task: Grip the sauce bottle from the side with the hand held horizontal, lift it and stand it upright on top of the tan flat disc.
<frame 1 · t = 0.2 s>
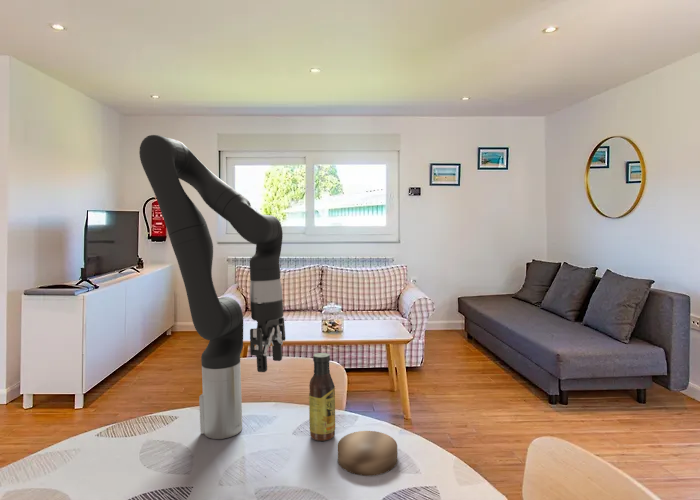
hand: (270, 365, 103), 18 cm above the table, tool pointing down, fingers open, 8 cm apart
sauce bottle: (322, 436, 104), on the table
tan flat disc: (367, 458, 94), on the table
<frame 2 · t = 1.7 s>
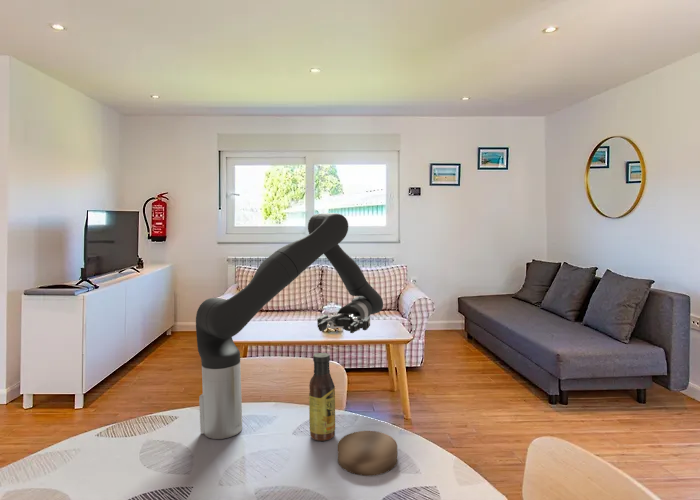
hand: (335, 328, 114), 24 cm above the table, tool horizontal, fingers open, 8 cm apart
nothing on the table moved.
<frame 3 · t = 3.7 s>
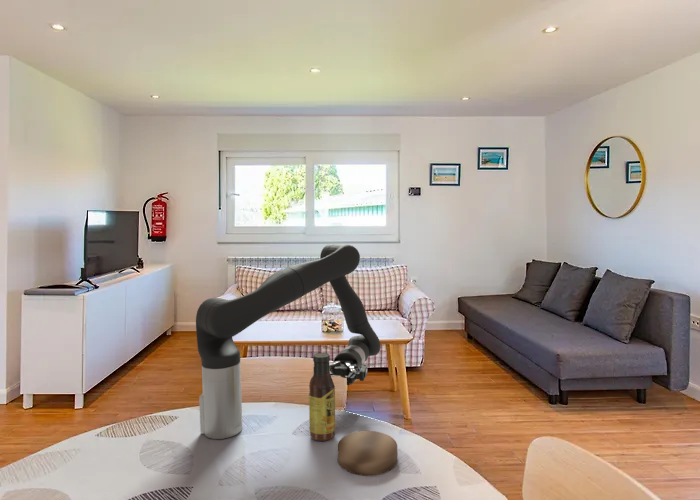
hand: (332, 380, 111), 11 cm above the table, tool horizontal, fingers open, 8 cm apart
nothing on the table moved.
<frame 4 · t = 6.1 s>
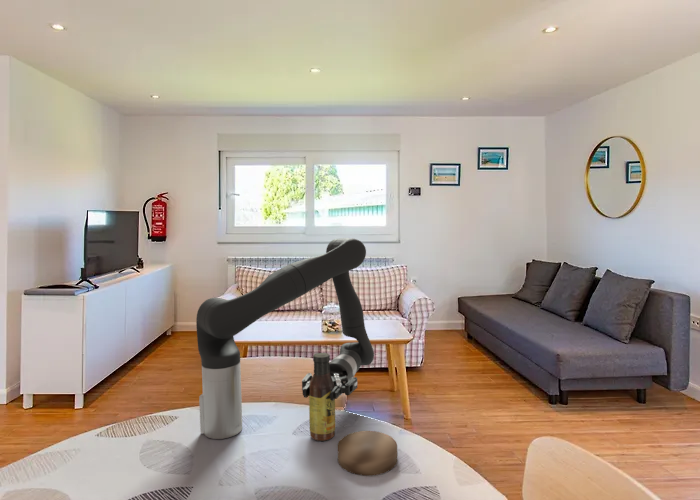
hand: (318, 395, 101), 11 cm above the table, tool horizontal, fingers closed on sauce bottle, 6 cm apart
sauce bottle: (322, 436, 104), on the table, touching gripper
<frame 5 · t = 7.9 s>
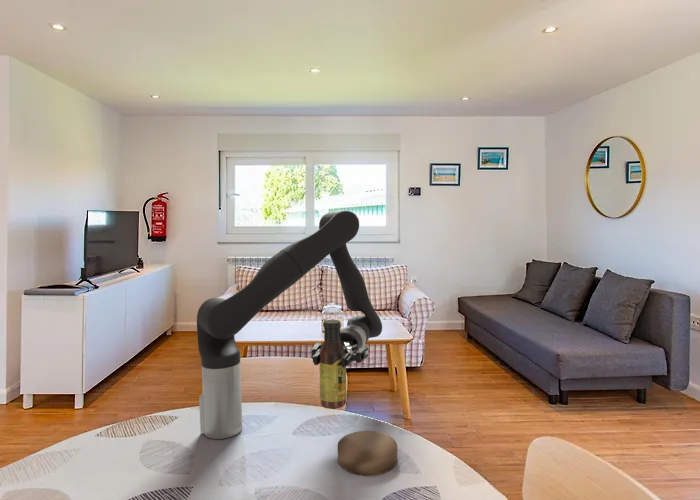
hand: (329, 362, 99), 20 cm above the table, tool horizontal, fingers closed on sauce bottle, 6 cm apart
sauce bottle: (333, 405, 102), point 8 cm above the table, touching gripper
when the fingers open (15 cm above the table, at t = 10.1 s): sauce bottle drops 1 cm, resting on tan flat disc.
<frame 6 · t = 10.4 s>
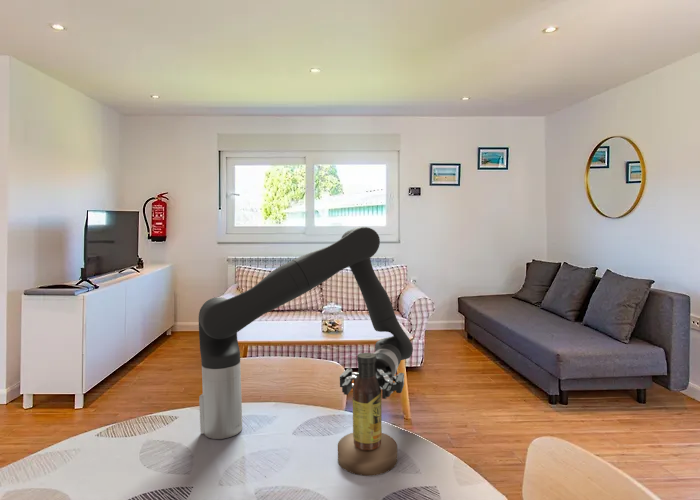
hand: (364, 392, 91), 15 cm above the table, tool horizontal, fingers open, 8 cm apart
sauce bottle: (367, 445, 94), point 3 cm above the table, touching tan flat disc
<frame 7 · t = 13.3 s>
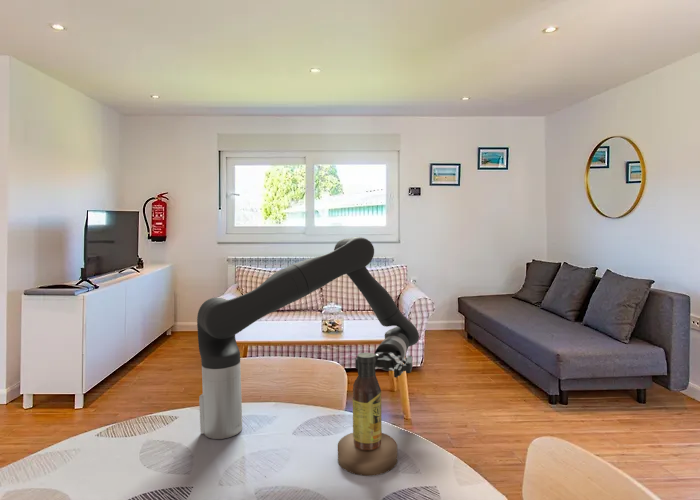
hand: (378, 372, 103), 16 cm above the table, tool horizontal, fingers open, 8 cm apart
nothing on the table moved.
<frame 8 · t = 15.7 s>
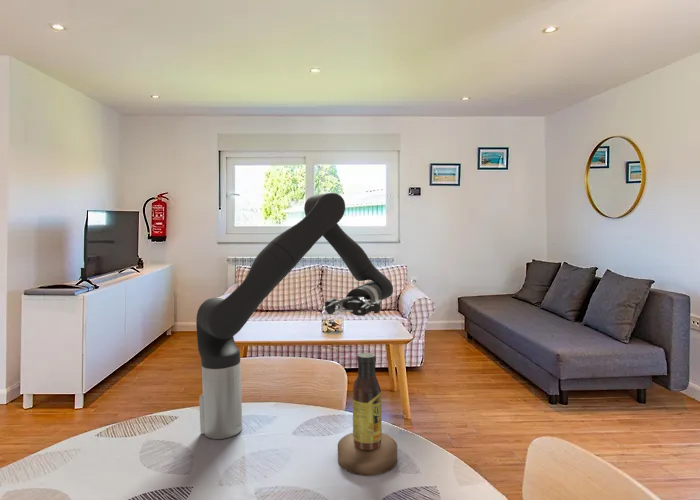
hand: (345, 310, 105), 30 cm above the table, tool horizontal, fingers open, 8 cm apart
nothing on the table moved.
at the end: sauce bottle inside the target area on the tan flat disc (0.2 cm from its centre), point 2.8 cm above the tan flat disc's base; sauce bottle tilted 0°; the gripper is holding nothing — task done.
